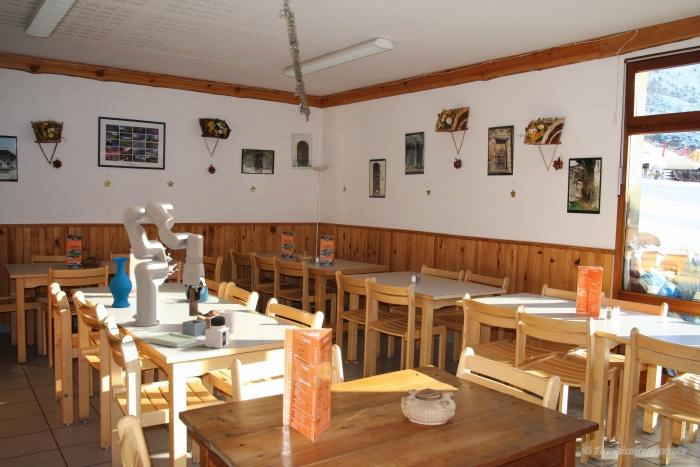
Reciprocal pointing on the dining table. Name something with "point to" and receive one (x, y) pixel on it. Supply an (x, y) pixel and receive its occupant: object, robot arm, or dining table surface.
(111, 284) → the vase
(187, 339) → the sage tray
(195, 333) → the blue-grey block
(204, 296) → the teapot
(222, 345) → the container
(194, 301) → the walnut dowel
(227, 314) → the white cup
